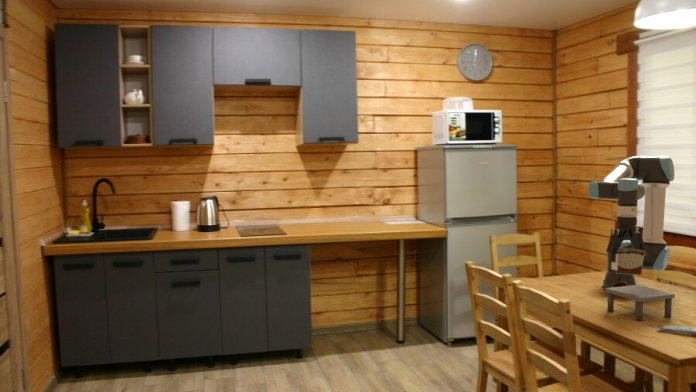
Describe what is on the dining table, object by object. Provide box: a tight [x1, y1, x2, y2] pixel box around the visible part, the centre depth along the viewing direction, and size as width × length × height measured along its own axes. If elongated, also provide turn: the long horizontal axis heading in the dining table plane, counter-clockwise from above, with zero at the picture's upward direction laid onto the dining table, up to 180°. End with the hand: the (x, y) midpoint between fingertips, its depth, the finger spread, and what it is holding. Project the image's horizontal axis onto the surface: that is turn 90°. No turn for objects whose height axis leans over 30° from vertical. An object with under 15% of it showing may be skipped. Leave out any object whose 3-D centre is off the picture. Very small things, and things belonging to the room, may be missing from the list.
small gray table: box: [605, 284, 676, 322], centre depth 241 cm, size 18×18×10 cm
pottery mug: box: [611, 281, 630, 296], centre depth 270 cm, size 12×10×8 cm
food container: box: [616, 248, 646, 276], centre depth 244 cm, size 12×6×10 cm, turn 67°
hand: (625, 268), depth 243 cm, fingers closed on food container, 10 cm apart
